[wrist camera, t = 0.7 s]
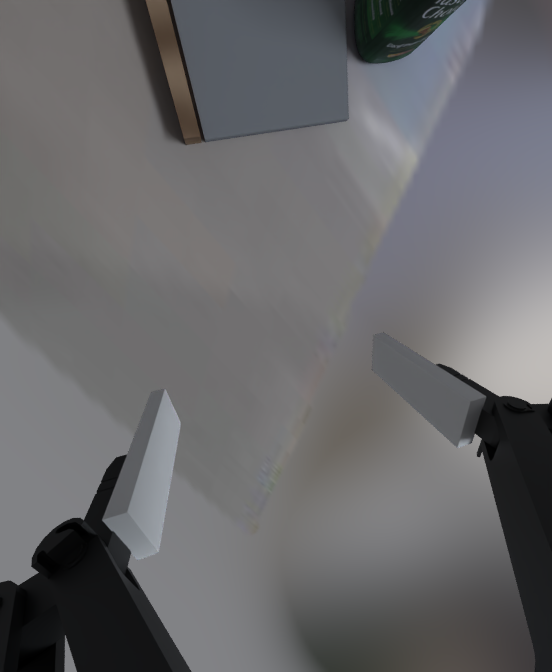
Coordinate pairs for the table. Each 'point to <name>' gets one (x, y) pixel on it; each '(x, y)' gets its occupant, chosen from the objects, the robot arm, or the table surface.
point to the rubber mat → (264, 63)
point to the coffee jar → (397, 26)
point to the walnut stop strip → (174, 69)
